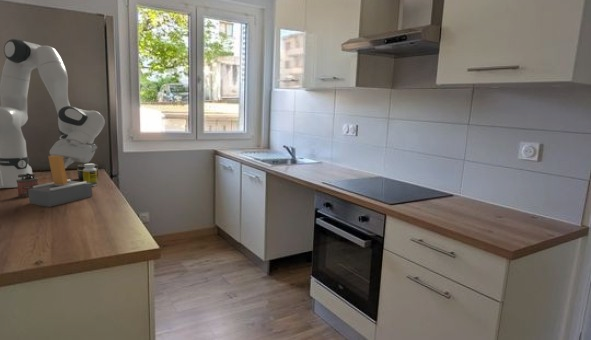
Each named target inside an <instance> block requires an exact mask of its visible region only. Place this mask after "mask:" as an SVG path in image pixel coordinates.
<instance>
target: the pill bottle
mask: <svg viewBox="0 0 591 340" xmlns="http://www.w3.org/2000/svg"><path fill="white" fill-rule="evenodd" d="M83 164H84V167H85V168H84V169H83V180H82V182H85V181H86V182H87V183H91V184H92V187H96V186H97V185H98V178H97V170H96V168H94V167H95V164H96V163H91V162H90V163H89V162H88V163H83Z"/></svg>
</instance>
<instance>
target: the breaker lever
mask: <svg viewBox="0 0 591 340" xmlns="http://www.w3.org/2000/svg"><path fill="white" fill-rule="evenodd" d="M47 158H48V162H49V167H50V173H51V177H52V181H53V182H54V183H55V184H62V185H64V184H67V183H68V182H67V180H68V177H67V173H66V168H65V166H64V163H65V162H64V161H63V156H57V155H48V157H47Z"/></svg>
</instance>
